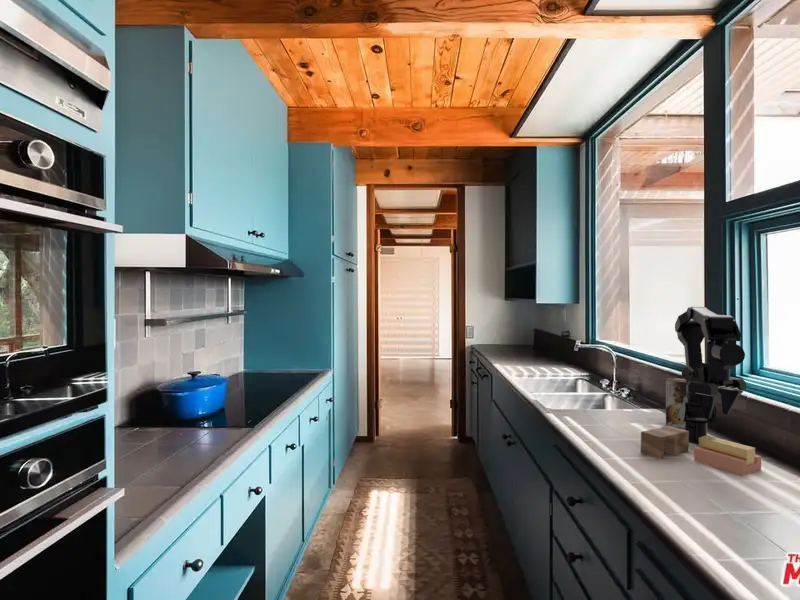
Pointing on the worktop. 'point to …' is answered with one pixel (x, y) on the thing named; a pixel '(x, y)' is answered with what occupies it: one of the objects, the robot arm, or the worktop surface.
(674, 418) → the product box
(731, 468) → the rust cradle
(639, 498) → the worktop surface
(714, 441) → the brass block
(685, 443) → the walnut beam
